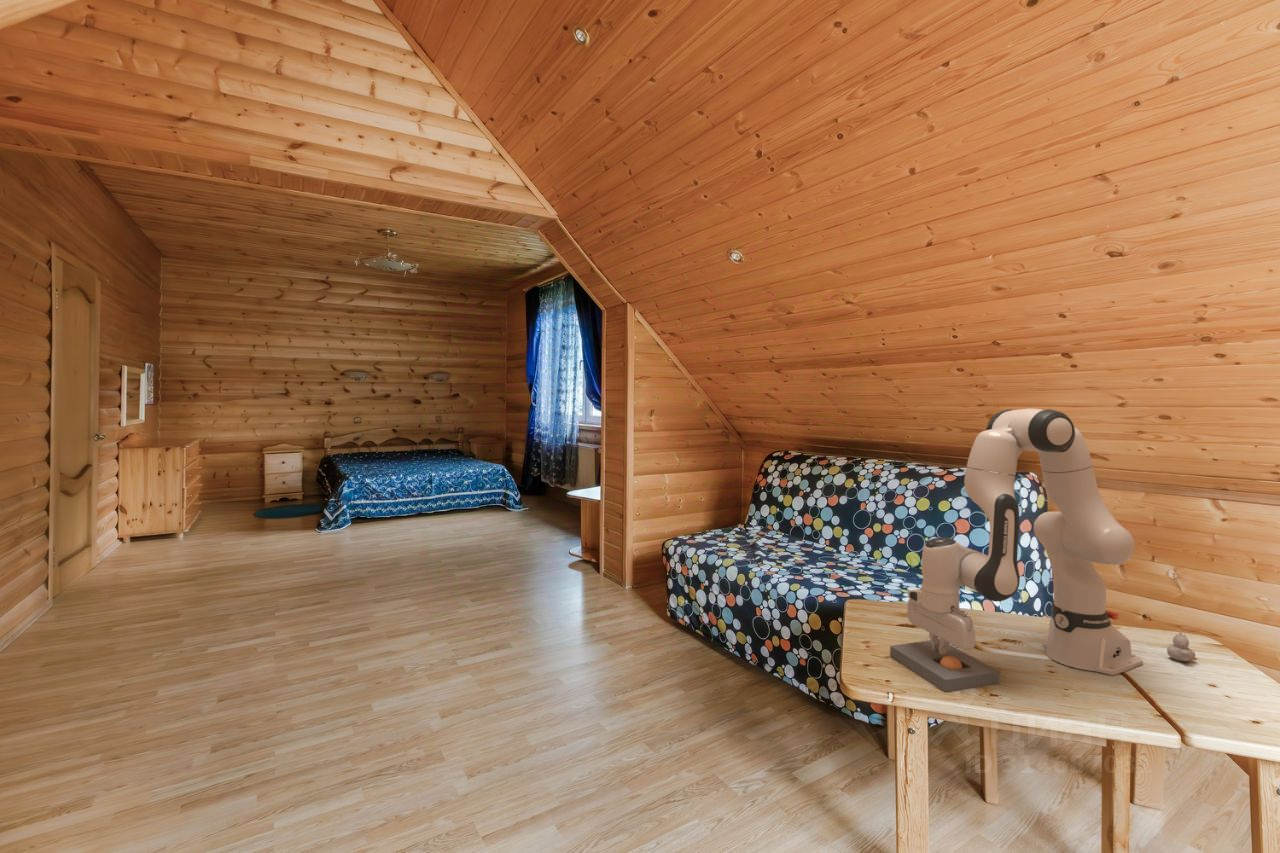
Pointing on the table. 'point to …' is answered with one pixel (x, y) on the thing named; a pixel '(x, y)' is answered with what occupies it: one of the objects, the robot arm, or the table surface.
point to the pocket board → (928, 667)
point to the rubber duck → (1180, 649)
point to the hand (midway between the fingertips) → (939, 652)
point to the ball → (950, 663)
